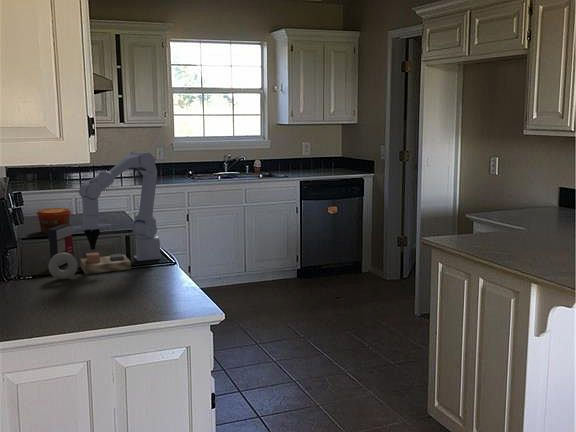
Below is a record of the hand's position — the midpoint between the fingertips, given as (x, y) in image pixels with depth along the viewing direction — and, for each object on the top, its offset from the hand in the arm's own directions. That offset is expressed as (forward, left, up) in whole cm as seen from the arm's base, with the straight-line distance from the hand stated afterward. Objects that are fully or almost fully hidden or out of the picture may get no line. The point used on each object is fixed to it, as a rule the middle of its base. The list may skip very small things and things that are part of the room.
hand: (92, 249), depth 233 cm
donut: (+12, +10, -8) cm, 18 cm away
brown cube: (0, 0, -6) cm, 6 cm away
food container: (+6, -79, -8) cm, 80 cm away
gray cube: (-9, 0, -8) cm, 12 cm away
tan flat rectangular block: (-4, 0, -8) cm, 9 cm away
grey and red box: (+10, -13, -8) cm, 18 cm away
